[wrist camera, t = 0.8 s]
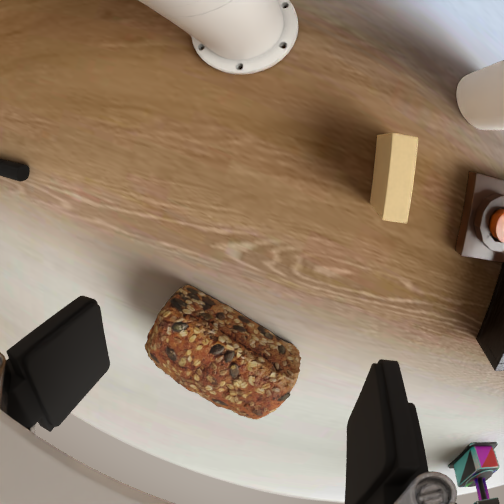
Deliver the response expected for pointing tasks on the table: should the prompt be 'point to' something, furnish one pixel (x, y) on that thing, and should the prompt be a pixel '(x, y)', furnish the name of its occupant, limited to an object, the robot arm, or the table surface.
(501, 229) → the button
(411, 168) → the toast
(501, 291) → the toaster
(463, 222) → the control block
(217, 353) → the bread
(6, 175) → the claw hammer
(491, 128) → the cylindrical container
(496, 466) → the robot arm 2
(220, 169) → the table surface
